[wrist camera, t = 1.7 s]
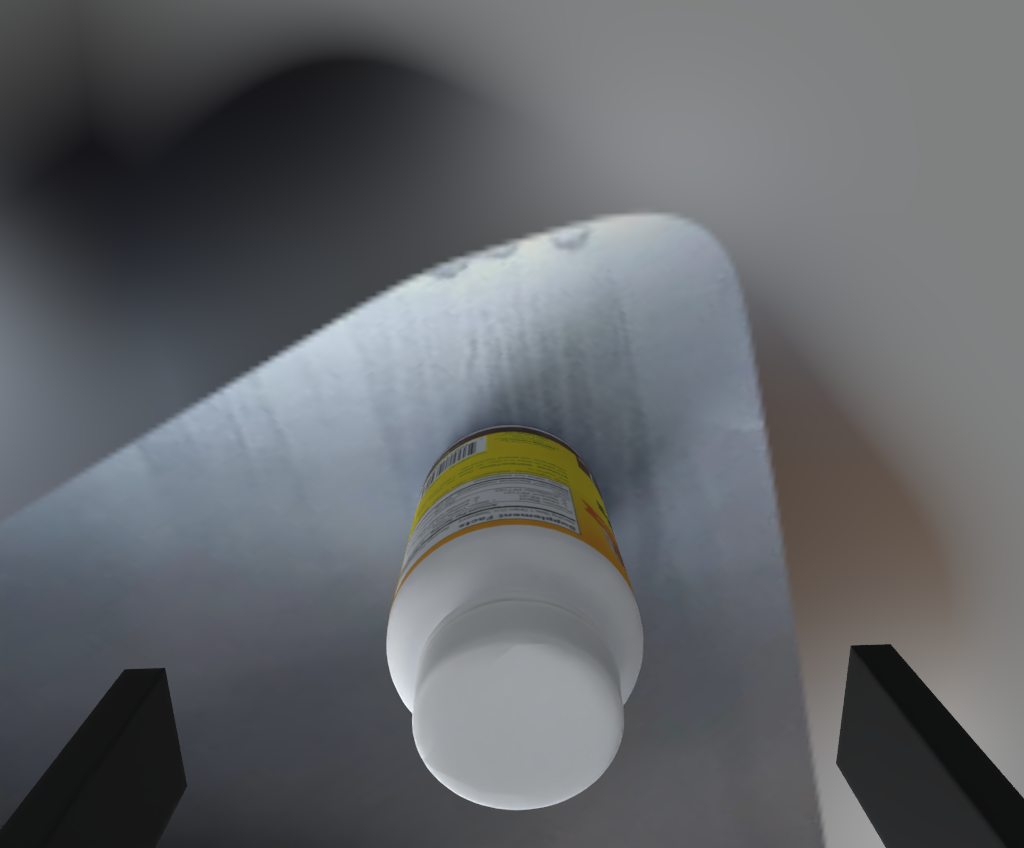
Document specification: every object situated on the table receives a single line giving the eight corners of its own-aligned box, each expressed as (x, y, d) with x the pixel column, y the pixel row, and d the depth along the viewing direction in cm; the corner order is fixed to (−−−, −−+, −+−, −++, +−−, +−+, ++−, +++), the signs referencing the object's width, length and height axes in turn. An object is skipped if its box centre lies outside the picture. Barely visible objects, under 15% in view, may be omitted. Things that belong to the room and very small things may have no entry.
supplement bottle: (582, 592, 25) (635, 862, 15) (411, 569, 24) (352, 831, 15) (615, 430, 23) (699, 617, 13) (432, 404, 23) (381, 576, 13)
